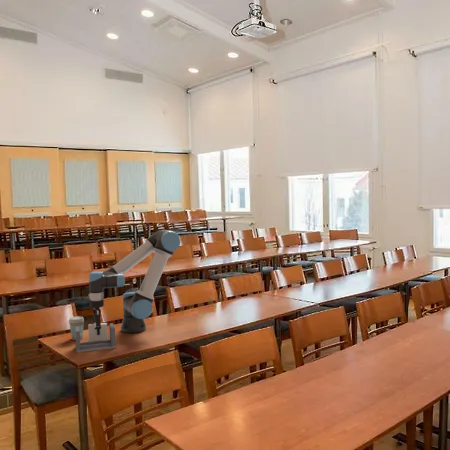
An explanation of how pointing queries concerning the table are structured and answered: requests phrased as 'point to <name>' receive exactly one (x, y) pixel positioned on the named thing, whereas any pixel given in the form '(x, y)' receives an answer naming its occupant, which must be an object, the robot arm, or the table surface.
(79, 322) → the coffee cup
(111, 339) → the track
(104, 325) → the block
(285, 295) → the table surface
